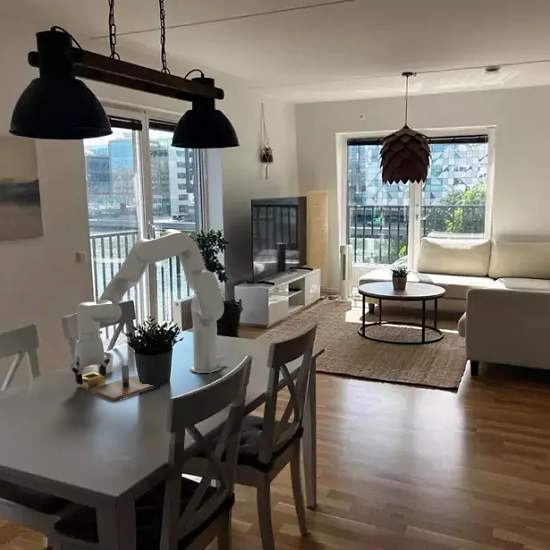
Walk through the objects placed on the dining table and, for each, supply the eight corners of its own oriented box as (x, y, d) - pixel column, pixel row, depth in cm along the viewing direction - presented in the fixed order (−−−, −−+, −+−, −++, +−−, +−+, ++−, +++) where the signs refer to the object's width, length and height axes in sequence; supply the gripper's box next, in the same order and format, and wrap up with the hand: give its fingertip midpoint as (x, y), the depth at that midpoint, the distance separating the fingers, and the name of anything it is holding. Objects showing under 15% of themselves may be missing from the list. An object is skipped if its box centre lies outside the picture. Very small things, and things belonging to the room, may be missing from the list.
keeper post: (126, 384, 209) (125, 362, 208) (130, 385, 208) (129, 364, 206) (121, 385, 207) (120, 364, 206) (125, 387, 206) (124, 365, 205)
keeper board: (137, 378, 220) (136, 374, 220) (159, 386, 211) (159, 382, 211) (91, 392, 205) (91, 388, 204) (113, 402, 196) (113, 398, 196)
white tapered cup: (116, 369, 231) (115, 352, 230) (110, 374, 225) (109, 357, 224) (100, 368, 232) (99, 352, 231) (93, 374, 225) (92, 357, 224)
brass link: (94, 381, 216) (94, 371, 216) (105, 385, 212) (104, 375, 211) (78, 386, 211) (77, 376, 210) (88, 390, 207) (88, 380, 206)
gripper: (103, 329, 217) (105, 372, 220) (62, 338, 204) (64, 384, 207) (115, 333, 213) (117, 376, 215) (73, 342, 200) (75, 388, 202)
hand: (91, 380), depth 211 cm, fingers open, 9 cm apart
